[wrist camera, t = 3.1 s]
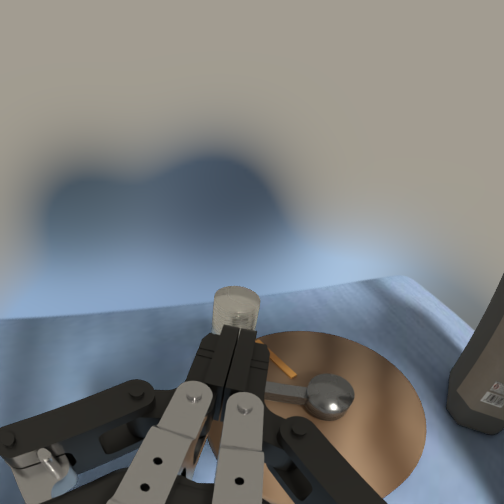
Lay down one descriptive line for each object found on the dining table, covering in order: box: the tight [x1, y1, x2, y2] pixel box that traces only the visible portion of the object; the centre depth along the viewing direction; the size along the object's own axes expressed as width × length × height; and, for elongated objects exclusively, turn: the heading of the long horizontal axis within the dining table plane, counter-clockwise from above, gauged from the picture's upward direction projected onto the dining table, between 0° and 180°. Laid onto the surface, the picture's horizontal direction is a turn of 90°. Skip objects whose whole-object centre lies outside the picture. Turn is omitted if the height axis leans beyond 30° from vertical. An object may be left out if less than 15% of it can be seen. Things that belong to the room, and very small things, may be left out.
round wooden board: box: [207, 331, 426, 504], centre depth 25 cm, size 20×20×2 cm
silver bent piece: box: [211, 286, 355, 421], centre depth 23 cm, size 12×4×9 cm, turn 82°
